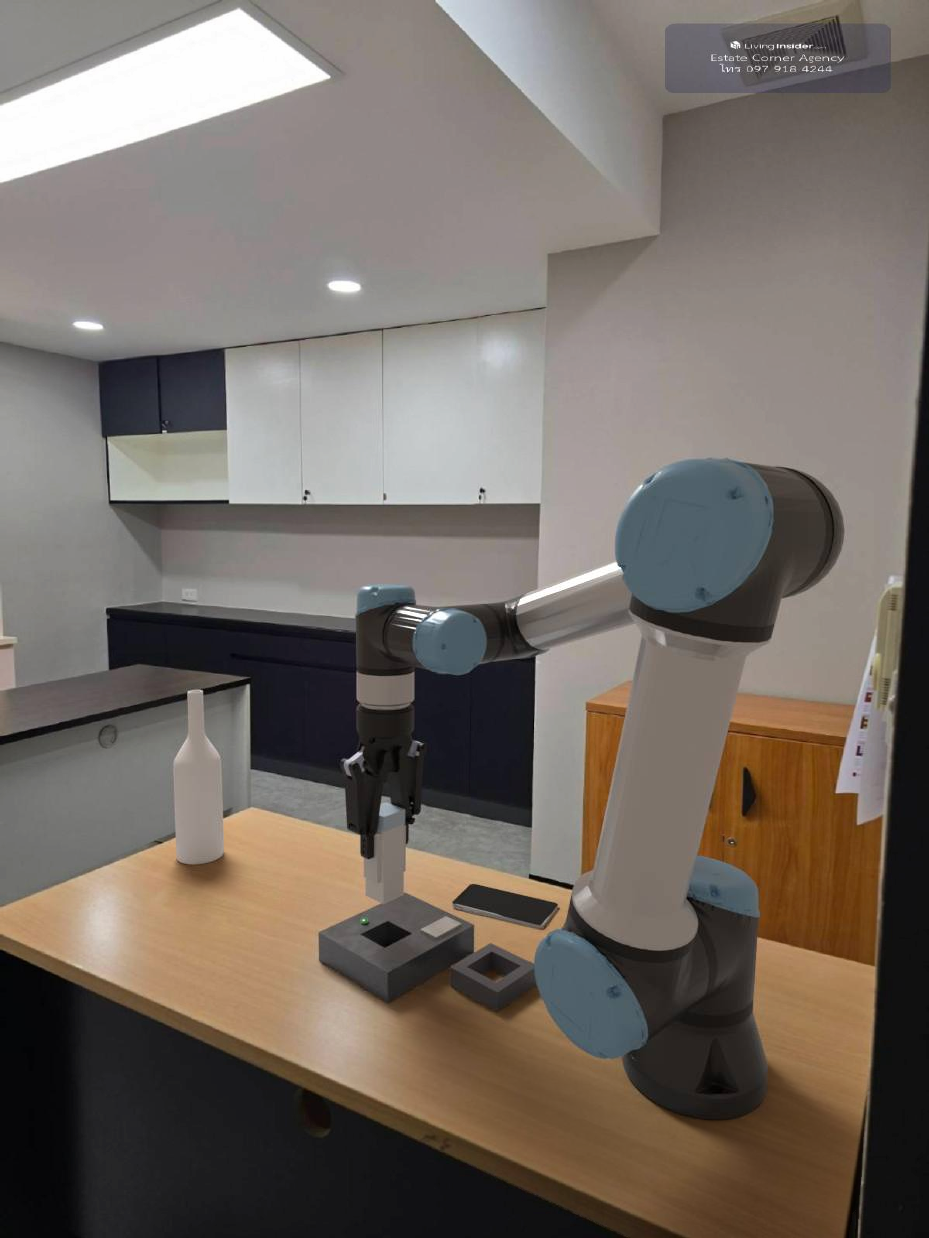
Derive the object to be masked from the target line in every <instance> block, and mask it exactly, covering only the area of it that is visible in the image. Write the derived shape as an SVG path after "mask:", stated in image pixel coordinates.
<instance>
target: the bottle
mask: <svg viewBox="0 0 929 1238" xmlns="http://www.w3.org/2000/svg"><path fill="white" fill-rule="evenodd" d="M186 693H187V696H186V697H187V723H188V724H187V726H188V727H187V730H188V731H187V732H188V733H187V736H186V737H187V738H186V739H185V740H184V742H183V744H182V746H181V747H180V749H179V751H178V752H177V754H176V756H175V757H174V760H173V764H172V765H173V766H172V768H173V771H172V772H173V791H174V792H173V803H174V825H175V853H176V860H177V861H178V862H179V863H181V864H185V865H191V866H192V865H194V866H195V865H196V866H197V865H202V864H209V863H212V862H215V861H217V860H219V859H220V858H221V857H222V856H223V855H224V853H225V849H224V848H225V846H224V845H225V843H224V842H225V839H224V835H225V834H224V808H223V805H224V804H223V802H224V801H223V800H224V798H223V772H222V771H223V769H222V765H223V764H222V758H221V755H220V754H219V752H218V750H217V749H216V748H215V746H214V745H213V744H212V742H211V741H210V740H209V738H208V736H207V735H206V732H205V731H206V729H205V711H204V710H205V708H204V706H205V705H204V691H203V690H201V689H192V690H188V691H187V692H186Z"/></svg>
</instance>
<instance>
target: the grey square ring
mask: <svg viewBox="0 0 929 1238" xmlns="http://www.w3.org/2000/svg"><path fill="white" fill-rule="evenodd" d="M491 970H493V971H494V972H496V973H498V974H501V975H502V976H503V977H501V979H499V980H497V981H495V980H493V979H491V978H489V977H487V976H485V975H484V974H486V973H488V972H489V971H491ZM449 986H451V987H452V988H454V989H456V990H457V991H459V992H461V993H463V994H465V995H466V996H468V997H470V998H471V999H474V1000H475V1001H478V1002H479V1003H481V1004H483V1005H484V1006H486V1007H488V1008H490V1009H491V1010H493V1011H495V1012H499V1011H501V1010H502V1009H503V1008H505V1007H506V1006H508V1005H509V1004H510V1003H512V1002H514V1001H515V1000H516V999H518V998H519V997H520V996H522V995H523V994H525V993H526V992H527V991H529V990H531V989H532V988H533V987H535V986H537V983H536V978H535V972H534V962H532V961H529V960H527V959H524V958H523V957H520V956H518V955H516V954H515V953H512V952H511V951H508V950H506V949H505V948H502V947H500V946H498V945H495V944H493V942H490V943H488V944H487V945H485V946H483V947H481V948H480V949H478V950H476V951H474V952H473V953H472V954H470V955H468V956H467V957H465V958H463V959H461V960H460V961H458V962H456V963H455V964H453V965H451V966H450V967H449Z"/></svg>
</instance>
